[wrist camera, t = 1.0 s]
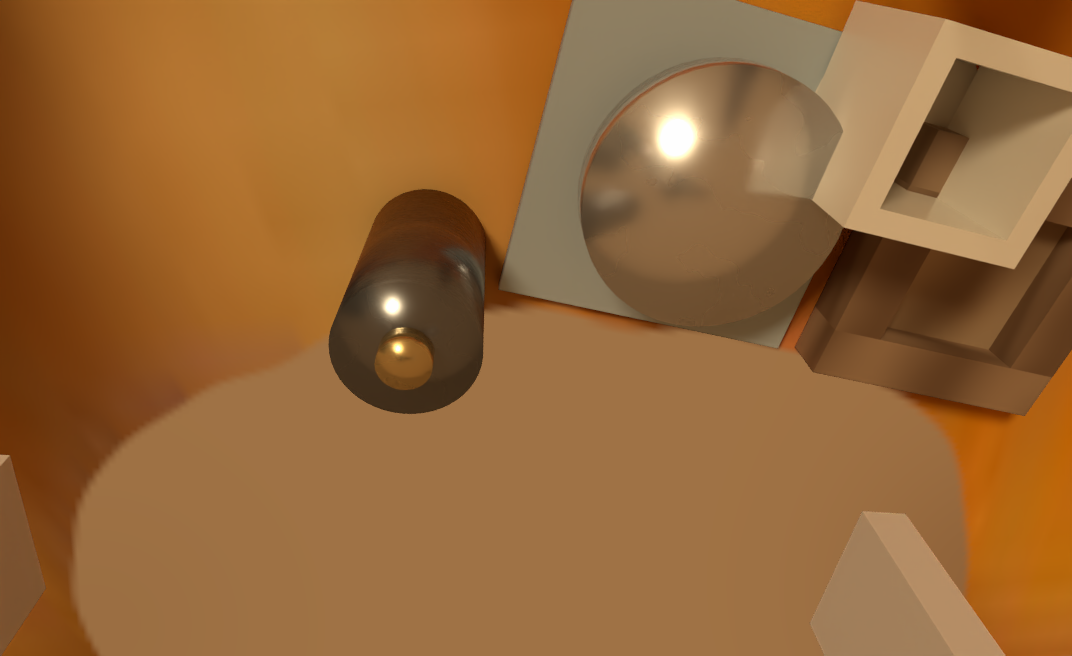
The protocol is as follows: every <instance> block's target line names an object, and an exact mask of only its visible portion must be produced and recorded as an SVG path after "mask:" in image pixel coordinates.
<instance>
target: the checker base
mask: <svg viewBox="0 0 1072 656" xmlns="http://www.w3.org/2000/svg"><path fill="white" fill-rule="evenodd" d="M841 34H842V32H841V31H837V30H834V29H830V28H827V27H824V26H820V25H817V24H813V23H810V22H807V21H803V20H800V19H797V18H793V17H790V16H786V15H783V14H780V13H776V12H773V11H770V10H766V9H763V8H759V7H756V6H753V5H749V4H746V3H742V2H739V1H736V0H572V3H571V7H570V11H569V15H568V19H567V23H566V26H565V30H564V34H563V38H562V42H561V46H560V49H559V53H558V57H557V61H556V65H555V69H554V73H553V76H552V80H551V84H550V88H549V92H548V96H547V99H546V103H545V107H544V111H543V115H542V119H541V123H540V126H539V130H538V134H537V138H536V142H535V146H534V149H533V153H532V157H531V161H530V165H529V169H528V173H527V176H526V180H525V184H524V188H523V192H522V196H521V199H520V203H519V207H518V211H517V215H516V219H515V223H514V226H513V230H512V234H511V238H510V242H509V246H508V249H507V253H506V257H505V261H504V265H503V269H502V273H501V276H500V280H499V290H503V291H508V292H513V293H517V294H522V295H527V296H532V297H536V298H541V299H546V300H551V301H555V302H560V303H565V304H570V305H574V306H579V307H584V308H588V309H593V310H598V311H603V312H607V313H612V314H617V315H622V316H626V317H631V318H636V319H641V320H645V321H650V322H655V323H660V324H664V325H669V326H674V327H678V328H683V329H688V330H693V331H697V332H702V333H707V334H712V335H716V336H721V337H726V338H731V339H735V340H740V341H745V342H750V343H754V344H759V345H764V346H768V347H773V348H778V347H779V345H780V343H781V341H782V339H783V336H784V334H785V332H786V330H787V328H788V326H789V324H790V322H791V320H792V318H793V316H794V314H795V312H796V310H797V308H798V305H799V303H800V301H801V299H802V297H803V295H804V293H805V291H806V289H807V287H808V285H809V283H810V281H811V279H812V277H811V278H810V279H809V280H808V281H807V282H806V283H804V284H803V285H802V286H801V287H800V288H799V289H798V290H797V291H795V292H794V293H793V294H791V295H790V296H789V297H787V298H786V299H784V300H783V301H782V302H780V303H778V304H776V305H775V306H773V307H771V308H769V309H768V310H766V311H763V312H761V313H759V314H757V315H754V316H752V317H749V318H746V319H743V320H740V321H737V322H732V323H727V324H723V325H716V326H704V327H698V326H682V325H676V324H670V323H666V322H663V321H659V320H656V319H653V318H651V317H649V316H646V315H644V314H642V313H640V312H638V311H637V310H635V309H633V308H632V307H630V306H628V305H627V304H626V303H625V302H623V301H622V300H621V299H620V298H618V297H617V296H616V295H615V294H614V293H613V292H612V291H611V290H610V288H609V287H608V286H607V285H606V284H605V282H604V281H603V280H602V278H601V277H600V275H599V274H598V272H597V270H596V268H595V266H594V264H593V262H592V261H591V258H590V255H589V252H588V249H587V246H586V243H585V240H584V237H583V233H582V230H581V226H580V220H579V215H578V201H577V194H578V183H579V176H580V172H581V167H582V163H583V160H584V157H585V155H586V152H587V149H588V147H589V145H590V143H591V141H592V139H593V137H594V135H595V133H596V131H597V129H598V128H599V126H600V125H601V124H602V122H603V121H604V119H605V118H606V116H607V115H608V114H609V113H610V112H611V110H612V109H613V108H614V107H615V106H616V105H617V104H618V102H619V101H620V100H622V99H623V98H624V97H625V96H626V95H627V94H628V93H629V92H631V91H632V90H633V89H634V88H635V87H637V86H638V85H640V84H641V83H643V82H644V81H646V80H647V79H649V78H650V77H652V76H654V75H656V74H658V73H660V72H662V71H664V70H666V69H668V68H671V67H674V66H676V65H679V64H682V63H685V62H689V61H694V60H698V59H704V58H715V57H729V58H741V59H746V60H751V61H756V62H759V63H762V64H764V65H767V66H770V67H772V68H774V69H776V70H778V71H780V72H782V73H784V74H786V75H788V76H790V77H792V78H794V79H796V80H797V81H799V82H801V83H803V84H805V85H806V86H807V87H808V88H810V89H811V90H812V91H814V92H816V90H817V88H818V86H819V84H820V82H821V80H822V78H823V76H824V74H825V72H826V69H827V67H828V65H829V62H830V60H831V58H832V55H833V53H834V51H835V48H836V46H837V44H838V41H839V39H840V37H841ZM812 276H813V275H812Z"/></svg>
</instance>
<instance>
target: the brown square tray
mask: <svg viewBox="0 0 1072 656" xmlns="http://www.w3.org/2000/svg"><path fill="white" fill-rule="evenodd" d="M968 140H969V138H968V137H966V136H963V135H961V134H959V133H957V132H954V131H952V130H950V129H948V128H944V127H941V126H937V125H934V124H930V123H927V122H924V123H923V125H922V127H921V129H920V131H919V133H918V135H917V137H916V139H915V140H914V142H913V144H912V146H911V148H910V150H909V152H908V154H907V156H906V158H905V160H904V162H903V164H902V166H901V168H900V170H899V172H898V174H897V176H896V178H895V180H894V182H895V183H896V184H898V185H900V186H901V187H903V188H904V189H906V190H907V191H911V192H915V193H919V194H923V195H927V196H930V197H934V198H937V197H938V196H939V194H940V192H941V190H942V188H943V186H944V184H945V183H946V181H947V179H948V177H949V175H950V173H951V172H952V170H953V168H954V166H955V164H956V162H957V160H958V159H959V157H960V155H961V153H962V151H963V149H964V148H965V146H966V144H967V142H968ZM795 348H796V349H797V350H798V352H799V353H800V355H801V356H802V357H803V359H804V360H805V362H806V363H807V364H808V366H809V367H810V369H811V370H812V371H813V372H815V373H819V374H824V375H829V376H834V377H839V378H844V379H849V380H853V381H858V382H864V383H868V384H873V385H877V386H882V387H887V388H892V389H897V390H902V391H906V392H911V393H916V394H921V395H926V396H931V397H935V398H940V399H945V400H950V401H955V402H960V403H964V404H969V405H974V406H979V407H984V408H989V409H993V410H998V411H1003V412H1008V413H1013V414H1018V415H1022V416H1025V415H1026V414H1027V412H1028V411H1029V409H1030V408H1031V407H1032V405H1033V404H1034V402H1035V401H1036V399H1037V398H1038V397H1039V395H1040V394H1041V392H1042V391H1043V390H1044V388H1045V387H1046V385H1047V384H1048V382H1049V381H1050V380H1051V378H1052V377H1053V375H1054V374H1055V373H1056V371H1057V370H1058V368H1059V367H1060V365H1061V364H1062V363H1063V361H1064V360H1065V358H1066V357H1067V356H1068V354H1069V353H1070V351H1071V350H1072V178H1071V179H1070V181H1069V183H1068V184H1067V186H1066V187H1065V189H1064V191H1063V192H1062V194H1061V195H1060V197H1059V199H1058V200H1057V202H1056V203H1055V205H1054V207H1053V208H1052V210H1051V211H1050V213H1049V215H1048V216H1047V218H1046V219H1045V221H1044V223H1043V224H1042V226H1041V227H1040V229H1039V231H1038V232H1037V234H1036V235H1035V237H1034V239H1033V240H1032V242H1031V243H1030V245H1029V247H1028V248H1027V250H1026V251H1025V253H1024V255H1023V256H1022V258H1021V259H1020V261H1019V263H1018V264H1017V266H1016V267H1015V269H1011V268H1007V267H1003V266H999V265H995V264H991V263H987V262H982V261H978V260H974V259H970V258H966V257H962V256H958V255H954V254H950V253H946V252H942V251H938V250H934V249H930V248H926V247H921V246H917V245H913V244H909V243H905V242H901V241H897V240H893V239H889V238H885V237H881V236H877V235H873V234H869V233H864V232H860V231H856V230H853V231H852V233H851V235H850V237H849V239H848V241H847V243H846V245H845V247H844V249H843V251H842V253H841V255H840V257H839V259H838V261H837V263H836V265H835V267H834V269H833V271H832V273H831V275H830V277H829V279H828V281H827V283H826V286H825V288H824V290H823V292H822V294H821V296H820V298H819V300H818V302H817V304H816V306H815V308H814V310H813V312H812V314H811V316H810V318H809V320H808V322H807V324H806V326H805V328H804V330H803V332H802V334H801V336H800V338H799V340H798V342H797V344H796V346H795Z"/></svg>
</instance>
